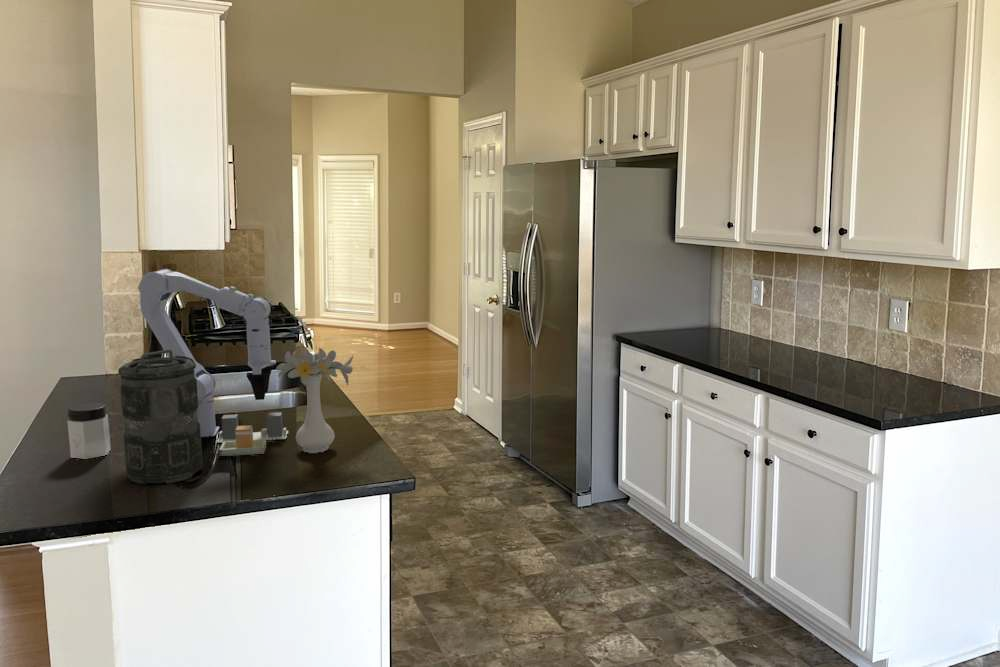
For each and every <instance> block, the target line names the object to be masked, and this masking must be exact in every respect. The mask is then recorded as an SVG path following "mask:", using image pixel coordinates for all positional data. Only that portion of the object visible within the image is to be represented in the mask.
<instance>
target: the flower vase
mask: <svg viewBox="0 0 1000 667" xmlns="http://www.w3.org/2000/svg"><path fill="white" fill-rule="evenodd" d="M299 352H300V354H299V355H300V358H299V357H298V356H296V354H297V350H294V351H293V352H292V354H291V352H290V351H289V350H288V351H286V353H285V355H284V361H285V362H283V363H280V364H278V365H277V366H276V367H275V370H276V371H280V372H279V373H278V375H277V377H278V378H279V377H281V376H283V375H284V374H285V373H287V372H288V374H287V377H288V378H289V379H295V378H297V377H300V380H301V383H302V384H303V385H304V386H306V387H305V388H306V394H307V396H306V398H307V399H306V402H307V404H306V406H307V407H306V416H305V419H304V421H303V424H302V425H301V426H300V427H299V428H298V430H297V432H296V434H295V441H296V443H297V445H299V446H300V447H302V451H303V452H304V453H306V452H308V453H307V454H319V453H318V452H321V453H324V451H325V452H326V450H327V451H328V450H329V449H330V446H329V445H331V444H332V443H333V442H334V440H335V437H336V435H335V431H334V430H333V429H332V428H333V427H331V426H330V424H328V423H327V422H326V421H325V419H324V416H323V412H322V408H321V407H322V406H321V397H320V395H321V394H320V393H321V392H320V388H321V380H322V377H323V376H324V377H325V378H326V379H327V380H329V381H331V380H332V379H331V377H335V378H337V377H338V374H337V370H340V373H341V375H342V376H343V379H344V381H345V383H346V385H347V386H349V375H351V373H352V372H353V369H354V368H353V366H352V365H351V364H352V361H353V359H354V355H351V356H350V358H349V359H348V360H347V361H346V362H345V363H344V364H343V363H341V362H339V361H336V360H335V359H336V357H337V353H336V351H335V350H333V349H332V350H330V351H329V352H328V353H326V351H325V350H324V349H323V348H321V347H320V348H318V353H314V354H312V353H309V351H308V350H307V348H301V349H300V351H299Z"/></svg>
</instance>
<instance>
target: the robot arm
mask: <svg viewBox="0 0 1000 667" xmlns="http://www.w3.org/2000/svg"><path fill="white" fill-rule="evenodd" d="M137 289H138V292H139V300H140V301H139V302H140V312H141V314H142V316H143V318H144V320H145V321H146V323H147V324H148V326H149V328H150V329H151V331H152V333H153V334H154V336H155V338H156V339H157V341H158V343H159V344H160V346H161V347H162V350H171V351H172V353H173V357H175V356H184V357H189V358H191V359H193V361H194V362H195V363H196V368H195V369H194V372H195V378H196V380H197V395H198V408H197V416H198V422H199V423H200V432H201V438H209V436H211V437H215V436H217V433H219V430H220V428H221V427H220V426H216V410H215V397H214V394H213V392H214V391H215V389H216V385H217V382H216V380H215V377H214V376H213V375H212V374H211V373H210V372H208V371H207V370H206V369H205V368H204V366H203V365H202V364H200V363H199V362H197V360H196V359H195V358H194V356H193V354H192V352H191V350H190V349H189V347H188V346H187V344H186V342H185V340H184V339H183V337H182V336H181V335H180V332H179V331H178V329H177V327H176V325H175V323H174V322H173V320H172V319H171V317H170V315H168V313H167V311H166V306H167V303H168V300H169V298H170V296H171V295H172V294H174V293H177V292H185V293H189V294H193V295H195V296H198V297H201V298H203V299H207V300H211V301H214V302H215V305H216V306H217V308H219V309H221V310H224V311H227V312H230V313H232V314H234V315H238V316H239V317H243V318H244V319H245V320H246V343H247V358H248V361H247V366H248V367H250V369H251V371H252V372H246V374H245V375H246V378H247V379H248V382H249V383H250V385H251V388H252V393H253V395H254V399H255V401H261V400H262V401H263V400H265V397H266V393H268V391H269V385H270V378H271V374H272V370H273V368H274V365H276V364H277V360H275V359H274V360H272V353H271V351H272V350H271V333H270V322H269V319H270V318H269V315H270V313H271V307H272V306H271V304H270V302H269V301H268V300H266V299H265V298H264V297H262V296H257V297H254V296H255V295H254V294H252V293H249V294H247V293H244V292H242V291H239V290H237V287H235V286H224V287H222V288H217V287H215V286H212V285H211V284H207V283H206V282H203V281H200V280H198V279H196V278H195V277H191V276H189V275H186V274H184V273H181V272H178V271H173V270H171V269H168V268H162V269H159V270H157V271H156V270H155V271H149V272H147V273H145V274H144V275H143V276H142V277H141V279H140V282H139V284H138V286H137ZM165 355H166V357H170V353H169V352H168V353H165Z"/></svg>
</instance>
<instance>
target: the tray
mask: <svg viewBox="0 0 1000 667" xmlns="http://www.w3.org/2000/svg"><path fill="white" fill-rule="evenodd" d="M267 442H268V441H267ZM267 442H266V439H257V440H253V447H251V448H236V441H224V442H223V443H222V444H220V447H219V449H218V455H219V456H233V457H240V456H239V455H251V456H255V455H254V454H265V452H266V449H267V447H266V445H267ZM267 446H268V445H267ZM265 448H266V449H265ZM264 451H265V452H264ZM219 456H218V457H219Z"/></svg>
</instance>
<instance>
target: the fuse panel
mask: <svg viewBox="0 0 1000 667" xmlns="http://www.w3.org/2000/svg"><path fill="white" fill-rule="evenodd" d="M237 426H240V425H239V414H238V413H237V414H223V415H222V417H221V430H220V431H219V432H218V438H217V441H216V444H217V443H223V442H224V441H236V435H235V430H236V428H237ZM287 434H288V435H289V430H287V427H284V425H283V413H282V411H281V412H267V414H266V428H261V431H256V432H255V431H254V432H253V440H257V439H266V440H272V439H273V440H275V439H286V438H287V439H288V436H287Z"/></svg>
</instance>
